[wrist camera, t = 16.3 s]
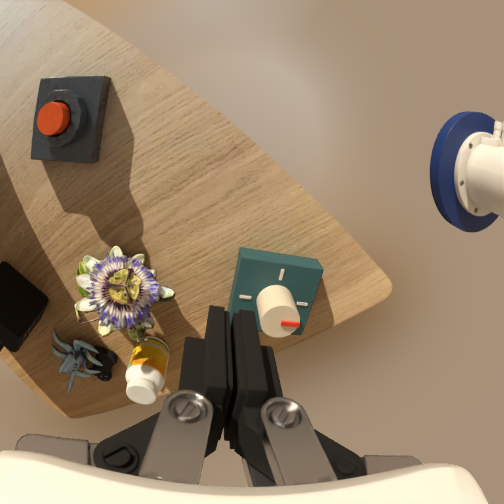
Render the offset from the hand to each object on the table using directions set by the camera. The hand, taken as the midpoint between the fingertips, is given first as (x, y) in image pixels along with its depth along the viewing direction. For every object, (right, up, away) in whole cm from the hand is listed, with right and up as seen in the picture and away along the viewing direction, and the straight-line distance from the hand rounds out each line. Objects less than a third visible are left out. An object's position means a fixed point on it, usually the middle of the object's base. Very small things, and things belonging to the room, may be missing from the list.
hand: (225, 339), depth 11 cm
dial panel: (+3, -1, +28) cm, 29 cm away
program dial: (+4, -3, +26) cm, 26 cm away
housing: (-20, +19, +17) cm, 33 cm away
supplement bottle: (-14, -11, +31) cm, 36 cm away
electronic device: (-34, -2, +25) cm, 42 cm away
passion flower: (-15, 0, +26) cm, 30 cm away
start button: (-20, +18, +14) cm, 30 cm away
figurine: (-26, -13, +31) cm, 42 cm away
